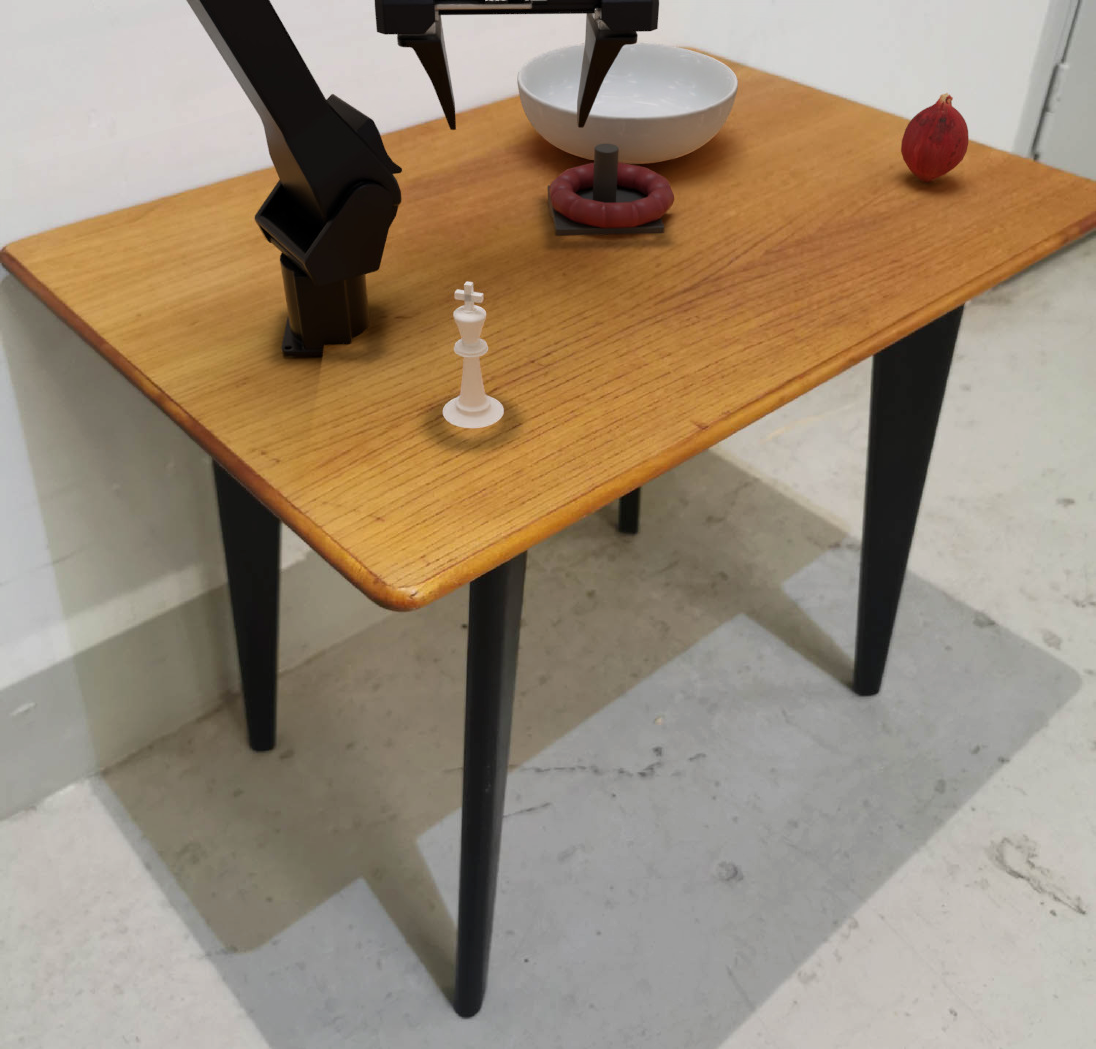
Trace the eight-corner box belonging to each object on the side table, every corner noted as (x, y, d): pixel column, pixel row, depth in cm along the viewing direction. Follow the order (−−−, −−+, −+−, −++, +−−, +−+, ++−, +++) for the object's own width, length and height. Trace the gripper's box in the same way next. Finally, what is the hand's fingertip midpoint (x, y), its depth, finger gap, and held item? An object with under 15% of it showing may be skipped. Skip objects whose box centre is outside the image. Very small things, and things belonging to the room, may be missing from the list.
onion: (955, 198, 102) (978, 109, 97) (890, 189, 103) (909, 101, 98) (959, 174, 106) (981, 88, 101) (896, 166, 107) (915, 80, 102)
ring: (681, 230, 92) (683, 207, 91) (555, 233, 92) (555, 210, 90) (661, 180, 100) (663, 158, 99) (545, 182, 100) (545, 160, 98)
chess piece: (451, 396, 76) (444, 259, 69) (521, 409, 74) (520, 271, 68) (424, 437, 72) (414, 296, 66) (497, 450, 71) (494, 308, 64)
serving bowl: (473, 142, 111) (471, 70, 106) (623, 95, 122) (627, 28, 117) (623, 209, 99) (628, 132, 95) (774, 151, 110) (784, 79, 106)
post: (663, 243, 94) (669, 168, 90) (555, 246, 93) (557, 170, 89) (647, 199, 101) (652, 127, 97) (547, 201, 100) (548, 128, 96)
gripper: (643, -141, 78) (630, 87, 88) (372, -141, 77) (390, 91, 87) (668, -109, 69) (651, 140, 79) (364, -108, 68) (385, 145, 78)
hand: (516, 127), depth 81 cm, fingers open, 9 cm apart
